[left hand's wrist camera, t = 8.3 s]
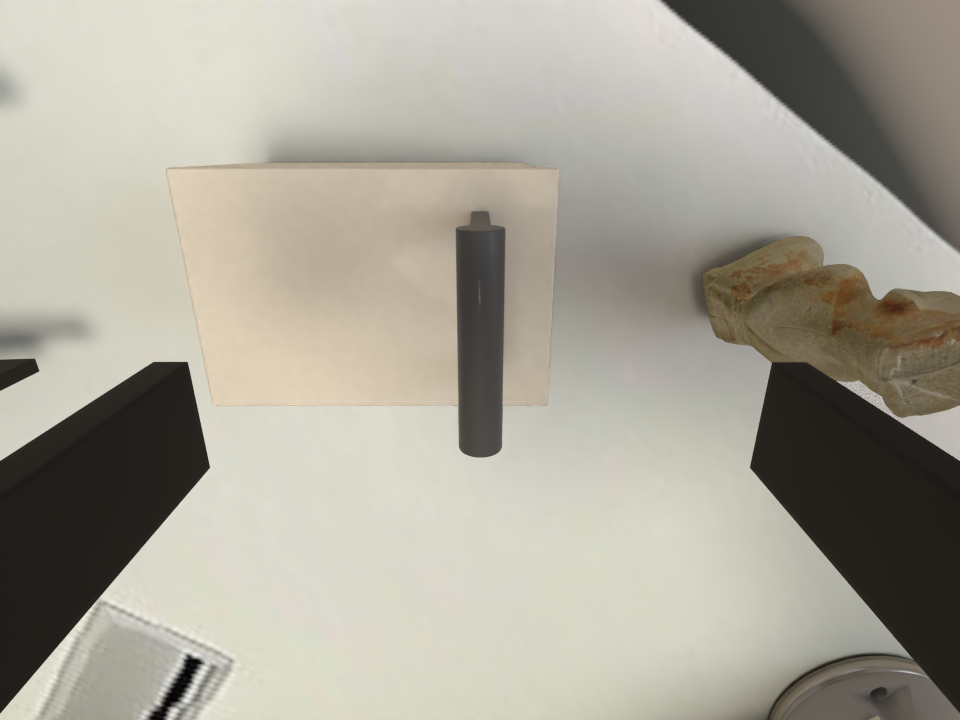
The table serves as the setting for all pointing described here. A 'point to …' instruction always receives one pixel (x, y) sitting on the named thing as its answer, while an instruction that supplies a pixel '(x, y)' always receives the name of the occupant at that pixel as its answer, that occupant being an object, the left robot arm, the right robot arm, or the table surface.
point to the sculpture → (840, 324)
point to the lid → (373, 286)
